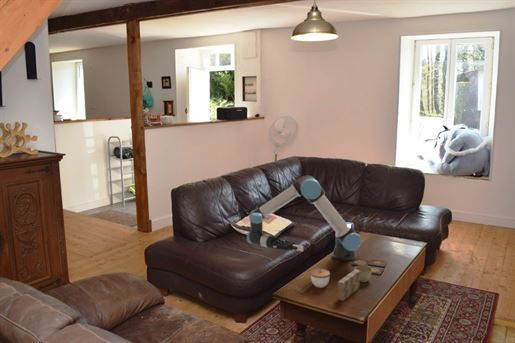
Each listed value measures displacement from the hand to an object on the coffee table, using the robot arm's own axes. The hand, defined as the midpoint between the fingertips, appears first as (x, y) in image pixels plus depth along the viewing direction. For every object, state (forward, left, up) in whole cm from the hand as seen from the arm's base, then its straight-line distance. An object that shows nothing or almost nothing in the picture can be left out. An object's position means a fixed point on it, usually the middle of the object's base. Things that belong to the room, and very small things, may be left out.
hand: (302, 249), depth 259 cm
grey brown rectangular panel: (0, +29, -19) cm, 35 cm away
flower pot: (-20, +28, -20) cm, 40 cm away
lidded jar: (0, +11, -20) cm, 23 cm away
